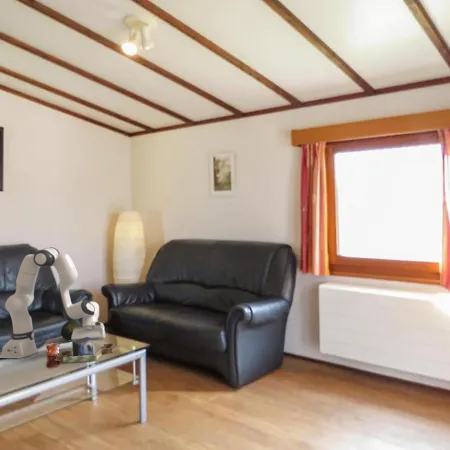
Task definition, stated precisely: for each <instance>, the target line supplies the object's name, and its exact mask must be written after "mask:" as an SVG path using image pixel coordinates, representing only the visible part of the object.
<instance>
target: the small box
mask: <svg viewBox="0 0 450 450" xmlns="http://www.w3.org/2000/svg"><path fill="white" fill-rule="evenodd" d="M71 341H72V340H71ZM71 343H72V349H73V356H72V357H74V356H87V355H95V352H94V340H93V339H92V338H89V337H85V338H82V339H79V340H75V341H72V342H71Z"/></svg>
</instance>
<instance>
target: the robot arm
mask: <svg viewBox="0 0 450 450" xmlns="http://www.w3.org/2000/svg"><path fill="white" fill-rule="evenodd" d="M46 267H54V269H55V270H56V272H57V275H58V279H59V280H58V281H59V283H58V285H57V286H58V287H57V288H58V293H59V297H60V301H61V305H62V310H63V311H62V313H63V316H64V318H65V320H66V321H67V322H68V321H75V320H78V319H81V318H83V322H82V327H76V328H74V329H73V333H72V337H71V339H72V340H71V341H75V340H79V339H82V338H85V337H89V338H92V339H93V341H102V340H105V338H106V330H105V325H104V323H103V322H100V321H99V317H100V305H99V304H98V302H96V301H88V300H85V299H84V300H81V301H78V302H76V303H72V300H71V295H70V288H72V286H73V285H74V284H75V283H76V281H77V280H78V277H79V273H78V269H77V268H76V264H75V263H74V261H73V259H72V258H71V256H70V255H69V254H68V253H67V252H66V253H65V252H64V253H60V251H59V250H58V249H57V248H55V247H52V246H51V247H45V248H42V249H39V250H37V251H36V252H35V253H34V254H33V253H32V254H31V253H30V254H27V255H25V257H24V258H23V260H22V261H21V264H20V267H19V271H18V274H17V277H16V280H15V282H16V283H15V284H16V287H15V288H16V290H15V293H14V294H12V295H10V296H9V297H8V298H7V300H6V301H5V309H6V310H7V311H8V312H9V315H10V318H11V322H12V323H11V324H12V330H13V332H12V333H11V334H10V335H9V338H11V339H10V340H8V342H6V343H5V345H3V346H2V350H1V353H0V358H17V359H22V358H25V357H30V356H32V355H35V354H36V353H37V352H38V349H37V346H36V342H35V332H34V328H33V320H32V316H30V314H29V313H30V312H29V311H28V307H29V306H31V305H32V303H33V302H34V299H35V296H34V294H35V293H34V292H35V285H36V281H37V278H38V275H39V272H40V269H41V268H46Z"/></svg>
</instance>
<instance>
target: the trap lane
mask: <svg viewBox="0 0 450 450" xmlns="http://www.w3.org/2000/svg"><path fill="white" fill-rule="evenodd" d="M116 349H117V343H115V342H110V343H108V341H105V342H104V343H103V348H102V347H101V348H99V349H98V351H97V352H96V353H94V355H87V356H74V357H73V348H72V349H70V350H68V349H67V350H59V352H58V353H59V360H60V361H61V362H63V364H69V363H82V362H95V360H97V361H98V360H99V359H100V357H101V356H102V355H106V354H109V355H110V354H113V353H114V351H115V350H116Z"/></svg>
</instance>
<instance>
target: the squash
mask: <svg viewBox="0 0 450 450" xmlns="http://www.w3.org/2000/svg"><path fill="white" fill-rule="evenodd" d="M76 327H83V324H82V323H81V322H80V321H79V320H78V319H77V320H75V321H68V320H67V321H66V322H65V323H64V324H63V325H62V327H61V330H60V336H61V337H62V339H65V340H66V341H67V340H71V341H72V339H71V337H72V333H73V329H74V328H76Z"/></svg>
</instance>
